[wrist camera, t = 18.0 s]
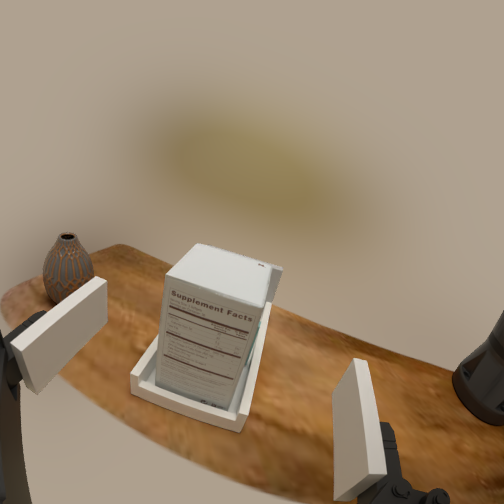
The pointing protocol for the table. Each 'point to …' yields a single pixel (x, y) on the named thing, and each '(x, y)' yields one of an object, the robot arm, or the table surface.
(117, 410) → the table surface
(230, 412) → the tray
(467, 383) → the robot arm
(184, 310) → the supplement box
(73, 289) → the vase
